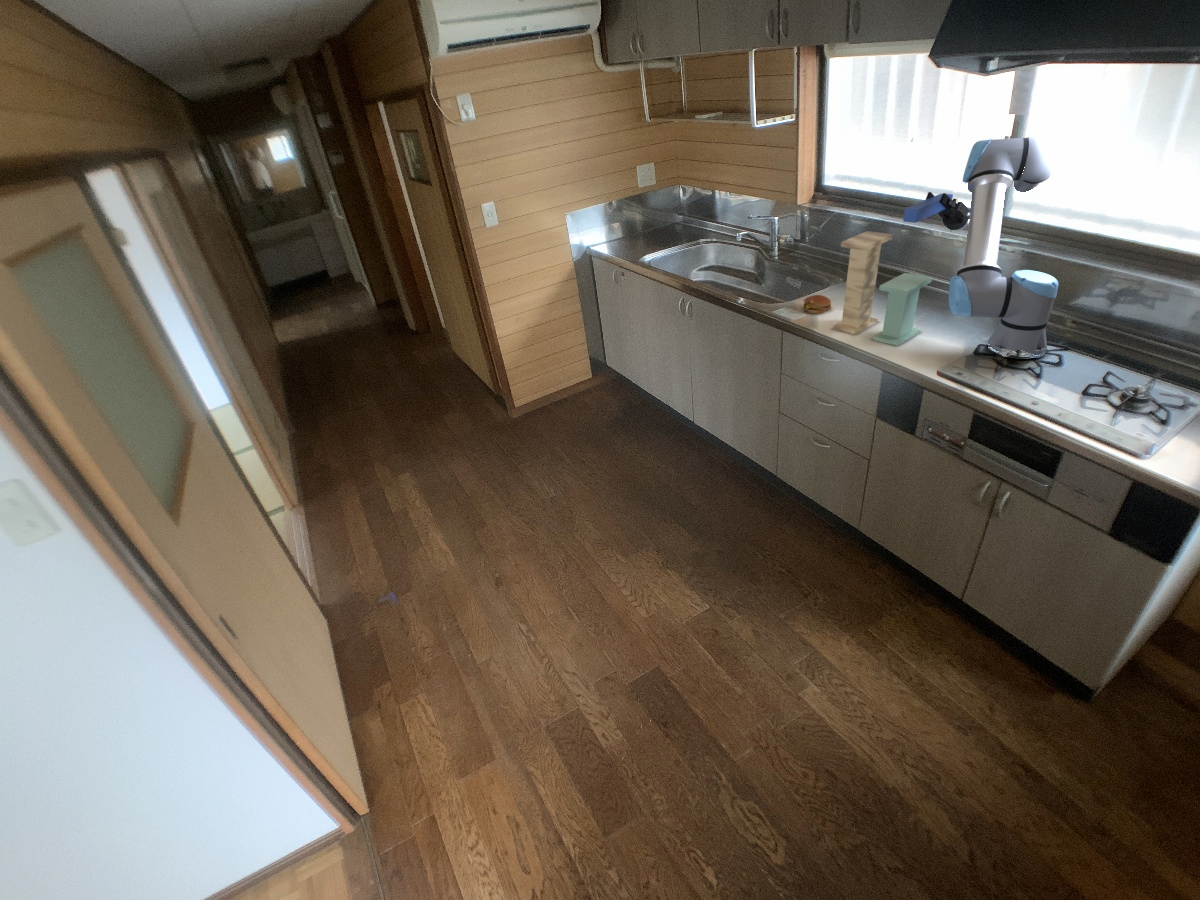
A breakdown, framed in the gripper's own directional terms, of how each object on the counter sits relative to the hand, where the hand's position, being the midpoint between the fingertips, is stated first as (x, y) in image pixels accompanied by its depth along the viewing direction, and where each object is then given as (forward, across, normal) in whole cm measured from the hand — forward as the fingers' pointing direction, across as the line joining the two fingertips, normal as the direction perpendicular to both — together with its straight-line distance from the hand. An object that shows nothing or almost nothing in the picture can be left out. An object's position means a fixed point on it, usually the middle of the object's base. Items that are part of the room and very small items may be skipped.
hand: (935, 196), depth 198 cm
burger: (-3, +27, -43) cm, 51 cm away
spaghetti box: (+1, 0, -6) cm, 6 cm away
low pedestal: (+2, -7, -46) cm, 46 cm away
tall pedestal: (+2, +8, -46) cm, 46 cm away
